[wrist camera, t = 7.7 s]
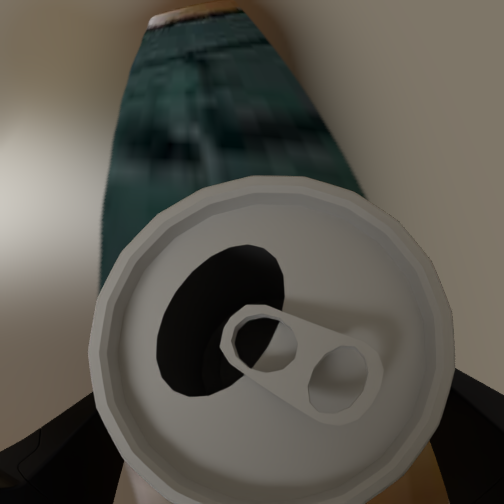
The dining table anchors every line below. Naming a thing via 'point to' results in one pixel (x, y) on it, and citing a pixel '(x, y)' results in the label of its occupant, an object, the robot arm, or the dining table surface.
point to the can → (272, 346)
